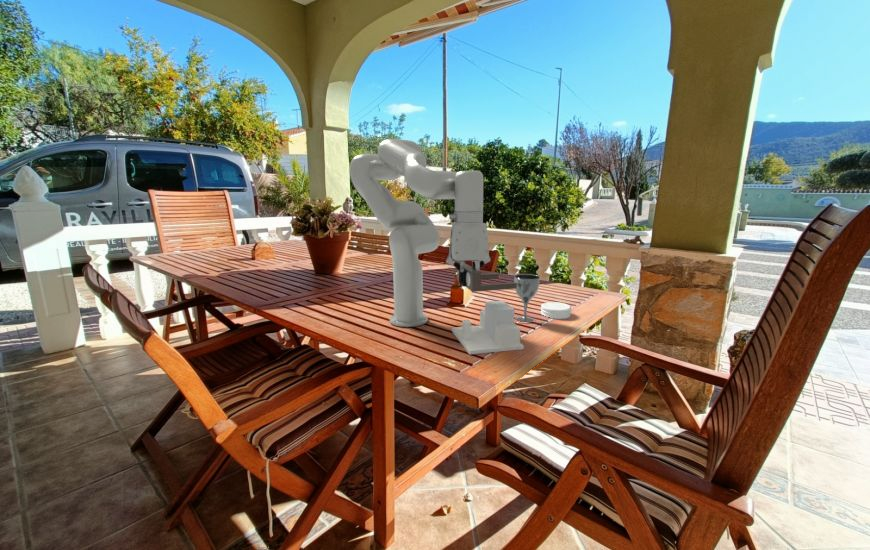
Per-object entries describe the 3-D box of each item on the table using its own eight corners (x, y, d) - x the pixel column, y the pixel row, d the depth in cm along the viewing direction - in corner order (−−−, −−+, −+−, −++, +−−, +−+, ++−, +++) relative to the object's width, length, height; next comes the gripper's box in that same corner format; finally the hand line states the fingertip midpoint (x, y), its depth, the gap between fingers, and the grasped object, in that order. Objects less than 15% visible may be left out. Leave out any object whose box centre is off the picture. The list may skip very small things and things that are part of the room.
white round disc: (570, 321, 128) (571, 311, 127) (539, 318, 131) (540, 308, 130) (570, 312, 137) (571, 302, 136) (541, 309, 140) (542, 300, 139)
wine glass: (529, 325, 123) (532, 280, 119) (508, 320, 128) (510, 276, 124) (541, 319, 128) (544, 276, 125) (520, 314, 134) (522, 272, 130)
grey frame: (496, 277, 116) (497, 261, 115) (516, 288, 102) (517, 270, 101) (457, 280, 113) (457, 263, 112) (472, 291, 100) (472, 272, 98)
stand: (498, 326, 122) (499, 296, 120) (523, 349, 105) (525, 314, 103) (451, 330, 118) (451, 299, 116) (469, 354, 101) (470, 318, 99)
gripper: (443, 220, 97) (443, 290, 101) (502, 218, 101) (500, 286, 105) (436, 218, 105) (437, 283, 108) (491, 216, 108) (490, 280, 112)
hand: (468, 284), depth 106 cm, fingers closed on grey frame
